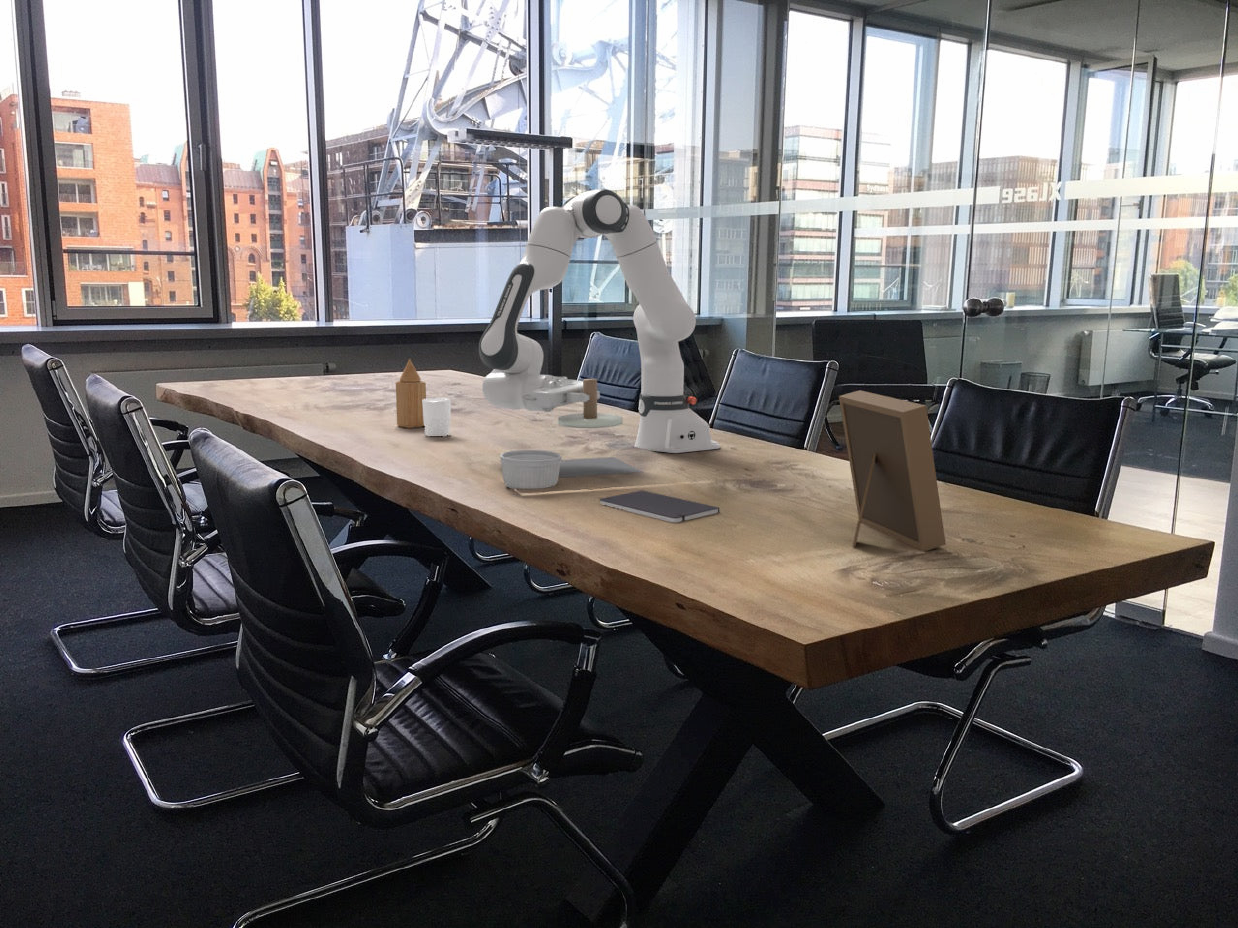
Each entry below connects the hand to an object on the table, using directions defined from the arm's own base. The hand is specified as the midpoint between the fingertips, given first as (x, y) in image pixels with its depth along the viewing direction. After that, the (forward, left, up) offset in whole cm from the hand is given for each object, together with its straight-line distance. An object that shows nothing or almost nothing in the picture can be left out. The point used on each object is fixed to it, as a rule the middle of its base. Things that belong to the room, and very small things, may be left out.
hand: (593, 396), depth 241 cm
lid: (0, -1, -6) cm, 6 cm away
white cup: (+25, -61, -17) cm, 68 cm away
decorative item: (+29, -79, -17) cm, 86 cm away
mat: (+1, -1, -17) cm, 17 cm away
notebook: (+1, +41, -18) cm, 45 cm away
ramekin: (+19, +13, -18) cm, 29 cm away
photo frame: (-27, +74, -17) cm, 81 cm away
